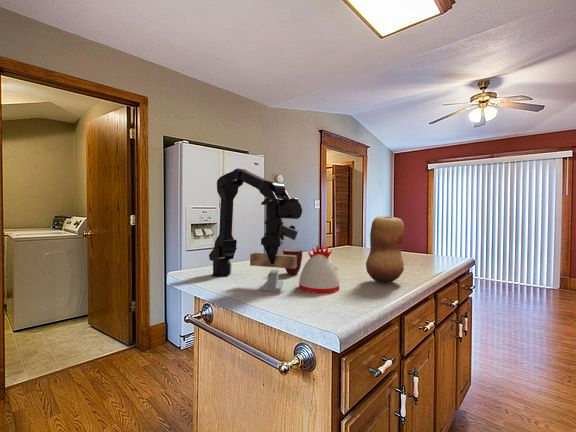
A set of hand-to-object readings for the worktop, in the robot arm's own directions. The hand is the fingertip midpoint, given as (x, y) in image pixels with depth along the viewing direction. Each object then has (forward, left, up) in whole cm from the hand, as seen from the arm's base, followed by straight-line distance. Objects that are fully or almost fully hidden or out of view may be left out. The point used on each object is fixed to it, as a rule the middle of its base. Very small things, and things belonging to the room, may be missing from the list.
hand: (273, 262), depth 108 cm
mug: (+6, +21, -9) cm, 23 cm away
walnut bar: (0, 0, -1) cm, 1 cm away
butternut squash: (+41, +11, -9) cm, 43 cm away
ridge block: (0, 0, -8) cm, 8 cm away
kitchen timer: (+16, 0, -9) cm, 18 cm away
